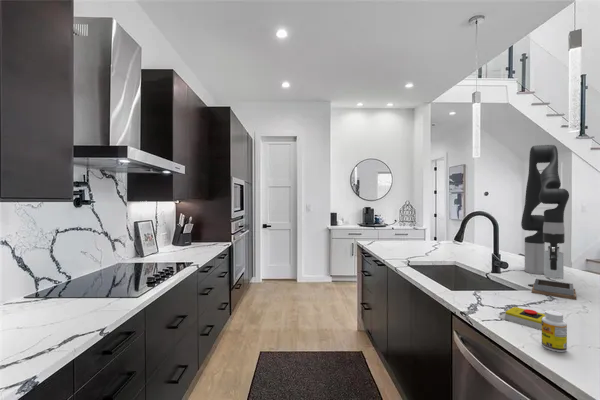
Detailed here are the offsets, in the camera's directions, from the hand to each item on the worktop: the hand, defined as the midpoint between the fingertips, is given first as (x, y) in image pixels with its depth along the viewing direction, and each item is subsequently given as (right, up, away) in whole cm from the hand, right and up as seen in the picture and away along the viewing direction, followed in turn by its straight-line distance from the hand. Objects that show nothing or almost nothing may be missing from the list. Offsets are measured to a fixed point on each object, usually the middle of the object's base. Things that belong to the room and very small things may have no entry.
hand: (553, 268), depth 138 cm
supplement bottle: (-43, -12, -51) cm, 68 cm away
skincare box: (0, -5, 0) cm, 5 cm away
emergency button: (-36, -12, -32) cm, 50 cm away
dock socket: (0, -11, 0) cm, 11 cm away
